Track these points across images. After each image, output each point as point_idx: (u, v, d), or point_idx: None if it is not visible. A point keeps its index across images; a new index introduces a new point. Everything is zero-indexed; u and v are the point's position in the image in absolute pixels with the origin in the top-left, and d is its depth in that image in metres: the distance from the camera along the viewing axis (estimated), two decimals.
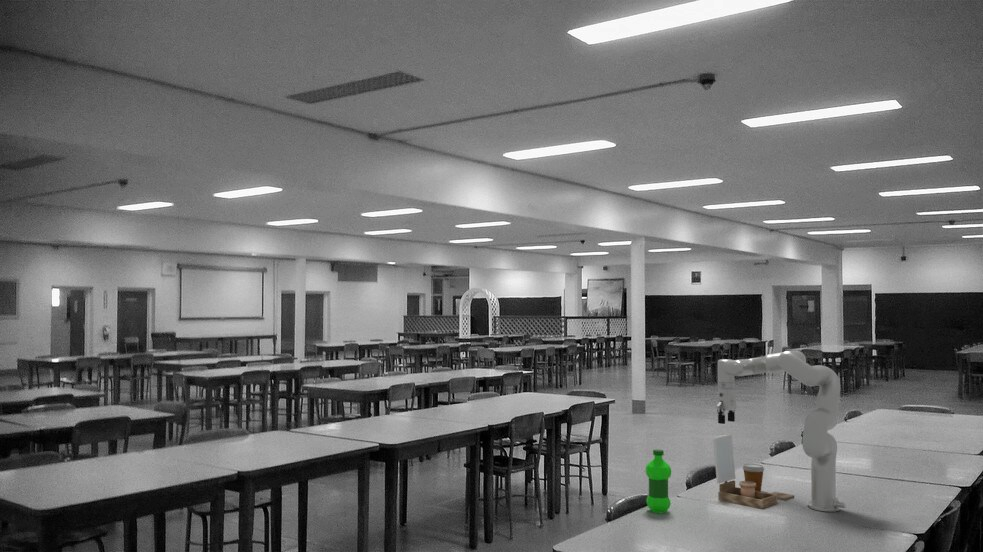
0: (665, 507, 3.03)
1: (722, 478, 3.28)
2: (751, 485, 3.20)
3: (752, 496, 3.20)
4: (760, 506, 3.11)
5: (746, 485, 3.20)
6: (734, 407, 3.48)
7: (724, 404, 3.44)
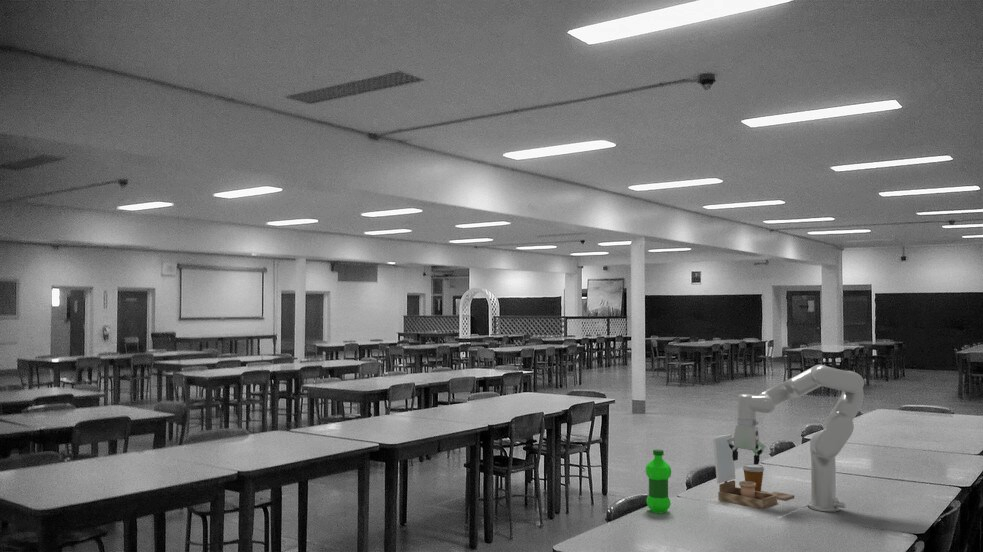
0: (665, 507, 3.03)
1: (722, 478, 3.28)
2: (751, 485, 3.20)
3: (752, 496, 3.20)
4: (760, 506, 3.11)
5: (746, 485, 3.20)
6: None
7: None
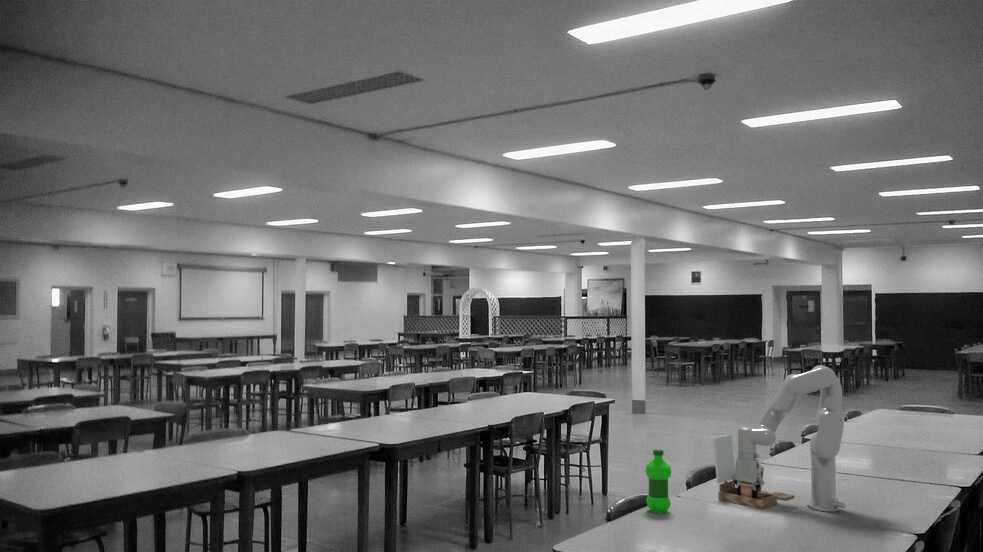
0: (665, 507, 3.03)
1: (722, 478, 3.28)
2: (751, 485, 3.20)
3: None
4: (760, 506, 3.11)
5: (746, 485, 3.20)
6: None
7: (760, 476, 3.21)
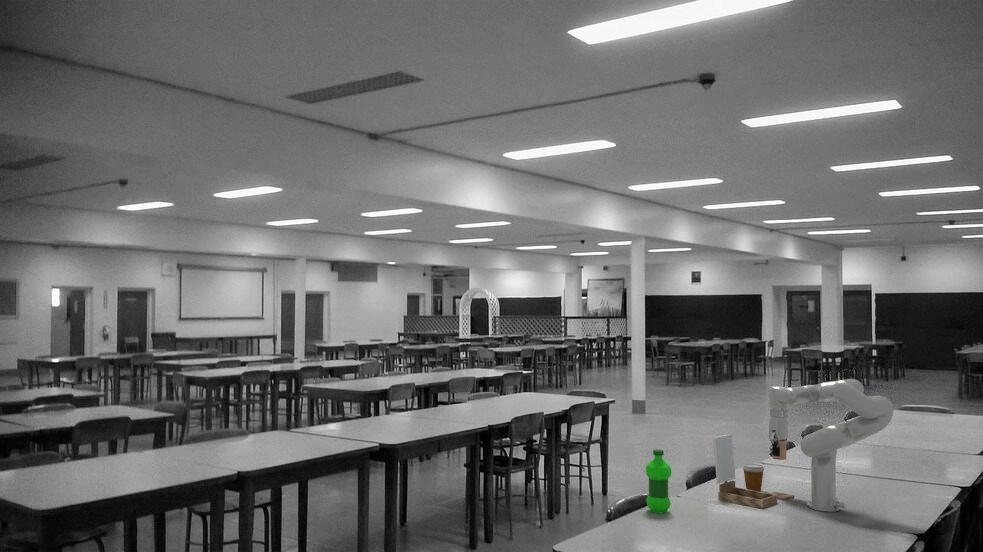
0: (665, 507, 3.03)
1: (722, 478, 3.28)
2: None
3: None
4: (760, 506, 3.11)
5: None
6: None
7: None
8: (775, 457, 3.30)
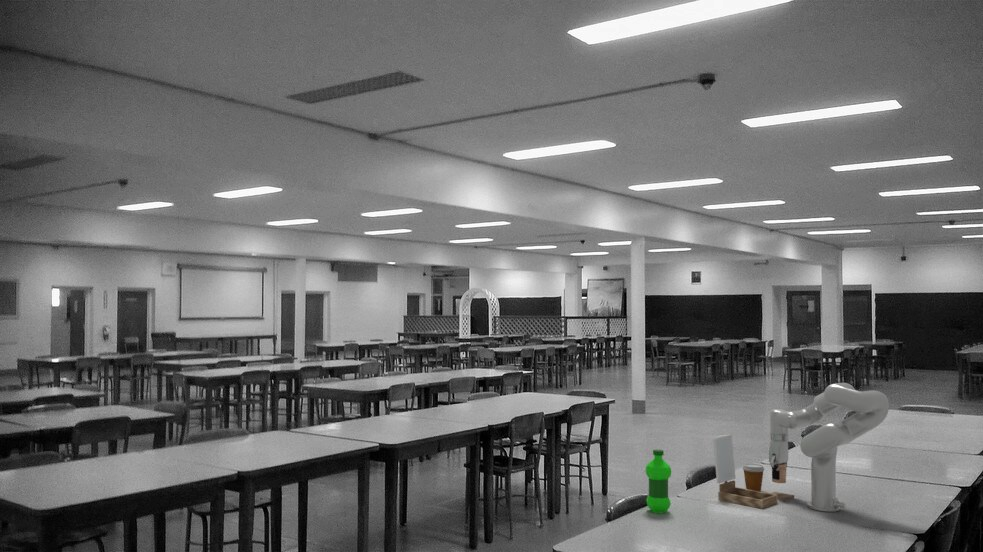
0: (665, 507, 3.03)
1: (722, 478, 3.28)
2: None
3: None
4: (760, 506, 3.11)
5: None
6: None
7: None
8: (775, 480, 3.30)
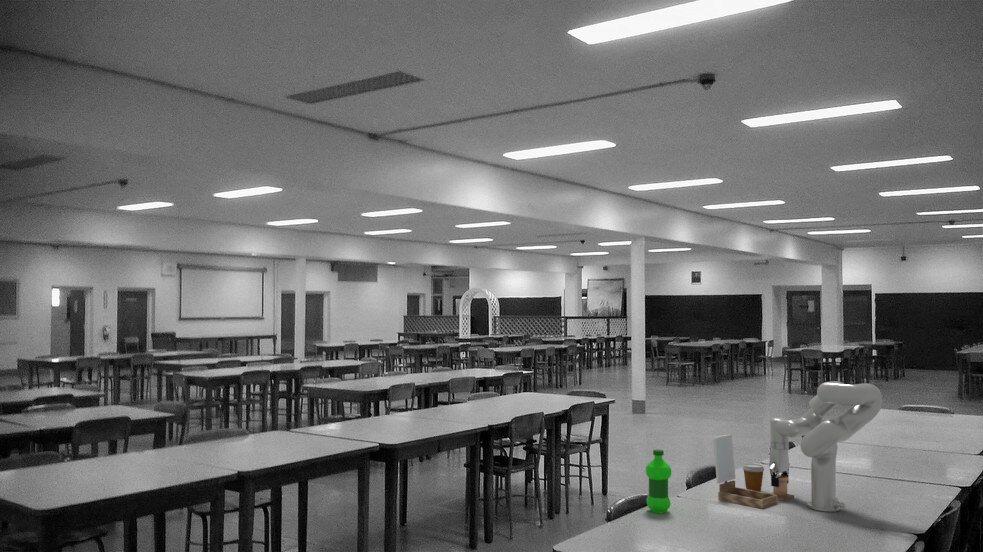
0: (665, 507, 3.03)
1: (722, 478, 3.28)
2: None
3: None
4: (760, 506, 3.11)
5: (788, 478, 3.30)
6: None
7: None
8: (776, 494, 3.29)
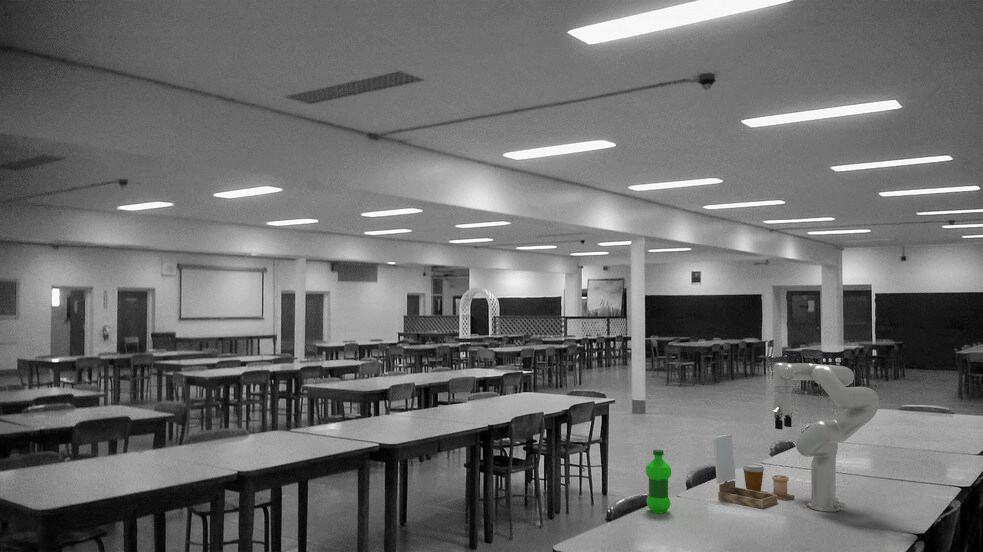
0: (665, 507, 3.03)
1: (722, 478, 3.28)
2: None
3: None
4: (760, 506, 3.11)
5: (788, 478, 3.30)
6: None
7: None
8: (776, 494, 3.29)
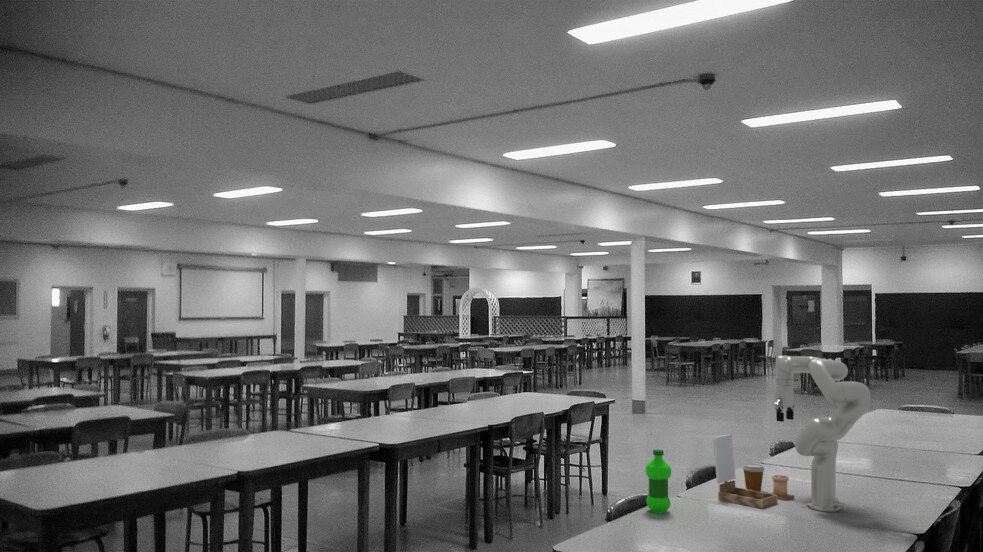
0: (665, 507, 3.03)
1: (722, 478, 3.28)
2: None
3: None
4: (760, 506, 3.11)
5: (788, 478, 3.30)
6: None
7: None
8: (776, 494, 3.29)
